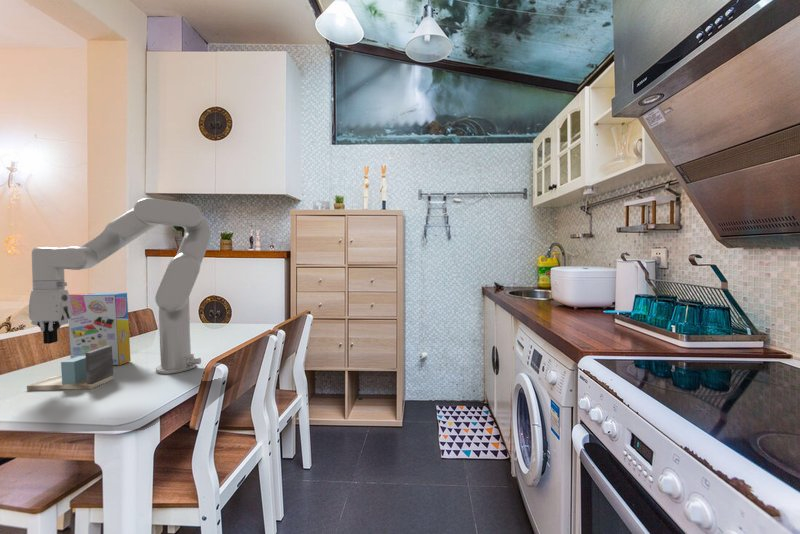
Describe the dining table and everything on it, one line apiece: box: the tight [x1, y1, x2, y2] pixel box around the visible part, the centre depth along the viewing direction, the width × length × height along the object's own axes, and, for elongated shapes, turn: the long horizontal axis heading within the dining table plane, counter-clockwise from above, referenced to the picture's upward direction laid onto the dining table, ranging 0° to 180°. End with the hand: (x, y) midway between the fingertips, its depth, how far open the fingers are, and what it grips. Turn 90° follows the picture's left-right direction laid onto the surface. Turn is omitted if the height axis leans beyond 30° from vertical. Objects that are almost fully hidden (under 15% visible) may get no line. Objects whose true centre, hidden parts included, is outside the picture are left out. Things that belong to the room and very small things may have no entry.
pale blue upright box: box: [60, 356, 87, 384], centre depth 122 cm, size 4×7×7 cm, turn 2°
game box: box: [68, 292, 132, 366], centre depth 145 cm, size 21×6×27 cm, turn 84°
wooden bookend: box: [26, 346, 114, 391], centre depth 122 cm, size 20×9×12 cm, turn 91°
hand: (50, 342), depth 121 cm, fingers closed
